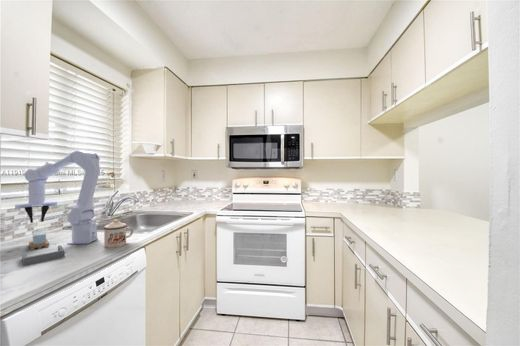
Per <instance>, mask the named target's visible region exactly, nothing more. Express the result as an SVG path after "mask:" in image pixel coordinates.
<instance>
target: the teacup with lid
mask: <svg viewBox="0 0 520 346" xmlns="http://www.w3.org/2000/svg"><path fill="white" fill-rule="evenodd" d="M103 230H104V234H103V235H104V237H103V238H104V244H103V245H104V247H105V248H119V247H122V246H124V245H126V244H127V239H129V238H130V237H132V235H133V234H134V228H133V227H131V226H127V223H124V222H121V221H119V220H118V219H113V221H112V222H110V223H108V224H106V225H104V226H103ZM127 230H130V231H131V232H130V233H129V235H127Z"/></svg>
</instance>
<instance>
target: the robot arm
mask: <svg viewBox="0 0 520 346" xmlns="http://www.w3.org/2000/svg"><path fill="white" fill-rule="evenodd" d="M100 160H101V159H100V156H99V155H98V154H97V153H96V152H95V151H85V150H80V149H79V150H74V151H71V152H70V153H69V154H68V155H66V156H64V157H63V158H61V159H58V160H57V161H55V162H53V161H46V162H45V164H42V165H41V166H37V167H36V168H35V169H34V168H29V169H28V170H26V171H25V173H24V178H25V180H26V181H28V202H26V203H20V204H19V203H16V204H14V207H15V210H18V209H19V210H21V209H24V210H25V212H26V214H27V215H28V217H29V222H30V224H33V223H34V219H33V208H41V211H40V212H41V216H40V222H42V223H43V222H44V221H45V216H46V214H47V212H48V210H49V209H50V207H55V206H57V207H58V201H46V184H47V180H48V179H49V177H51V176H54V175H55V174H58V173H59V172H60V171H61V169H62V168H65V167H67V166H69V165H73V164H76V165H77V166H79V167H80V168H81V169H82V170H83V171H84V176H83V179H82V183H81V187H80V191H79V195H78V199H77V202H76V204H74V205H73V206H72V207H71V210H70V212H69V213H68V214H67V221H68V222H69V224H70V225H71V241H68V242H67V243H66V244H67V245H73V244H74V245H77V244H78V245H79V244H83V245H84V244H85V245H86V244H89V243H92V242H94V241H96V240H98V239H99V238H98V225H97V224H96V223H94V222H92V220H93V218H94V217H95V211H94V210H95V206H93V205H92V204H93V199H94V194H95V190H96V189H97V183H98V180H99V176H100V172H101V167H100Z"/></svg>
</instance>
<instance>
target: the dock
mask: <svg viewBox="0 0 520 346" xmlns="http://www.w3.org/2000/svg"><path fill="white" fill-rule="evenodd" d="M65 251H66V250H65V249H64V248H63V246H62V245H60V244H59V245H57V250H56V251H50V252H45V253H41V254H35V255H30V256H28V255H27V251H23V252H22V259H21V260H22V265H23V266H27V265H31V264H36V263H40V262H46V261H49V260H50V261H51V260H55V259H59V258H64V257H65V254H66V252H65Z"/></svg>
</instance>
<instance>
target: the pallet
mask: <svg viewBox="0 0 520 346" xmlns="http://www.w3.org/2000/svg"><path fill="white" fill-rule="evenodd" d="M28 243H29V244H28V246H29V248H30V251H32V250H35V248H37V249H38V250H39V249H43V248H42V247H45V248H49V247H50V242H49V240H48V238H46V243H42V244H36V245H33V240H30V241H29V242H28Z"/></svg>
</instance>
